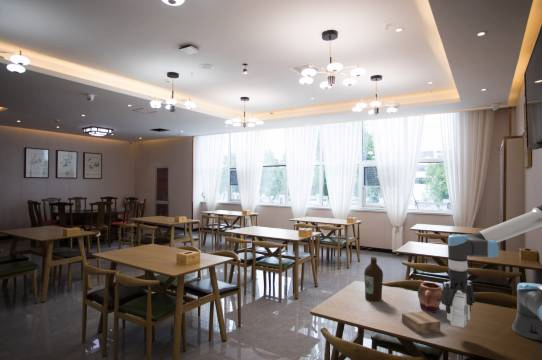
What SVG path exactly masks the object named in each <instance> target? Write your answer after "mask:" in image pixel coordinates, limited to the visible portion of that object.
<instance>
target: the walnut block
mask: <svg viewBox="0 0 542 360" xmlns="http://www.w3.org/2000/svg"><path fill="white" fill-rule="evenodd" d="M401 323H402V324H403V325H404V326H406V327H407V328H408V329H411V330H412V331H414V332H415V333H416V334H418V335H420V334H428V333H429V334H430V333H438V332H441V320H438V319H437V318H435V317H434V316H432V315H430V314H428V313H426V312H424V310H423V311H413V312H412V311H411V312H405V313H401Z"/></svg>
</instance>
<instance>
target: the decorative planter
mask: <svg viewBox="0 0 542 360" xmlns="http://www.w3.org/2000/svg"><path fill="white" fill-rule="evenodd" d="M441 289H442V288H441V285H440V284H438V283H436V282H432V281H431V282H428V281H425V282H422V283H420V285H419V288H418V291H417V297H418V300H419V301H418V302H419V307H420V309H421V310H423V311H426V312H433V313H437V312H439V311H440V309H441V307H440V305H441V304H442V303H441V301H442V294H443V291H442V290H441Z"/></svg>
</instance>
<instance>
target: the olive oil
mask: <svg viewBox="0 0 542 360" xmlns="http://www.w3.org/2000/svg"><path fill="white" fill-rule="evenodd" d="M377 261H378V260H377V257H376V256H371V257H370V263H369V264H368V265H367V266H366V267H365V269H364V273H363V275H364V276H363V277H364V298H366V299H365V300H366V301H369V302H372V303H373V302H376V303H378V302H381V301H382V299H383V279H384V272H383V270H382V267H380V265H378V264H377Z"/></svg>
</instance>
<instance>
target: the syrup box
mask: <svg viewBox="0 0 542 360" xmlns="http://www.w3.org/2000/svg"><path fill="white" fill-rule="evenodd" d="M451 306H452V307H453V321H452V322H451V321H450V320H449V325H451V326H453V327H459V328H465V327H466V325H467V322H468V321H467V320H468V319H467V299H466V294H465V293H463V292H461V290H457V293H455V296H454V299H453V302H452V304H451Z"/></svg>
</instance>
